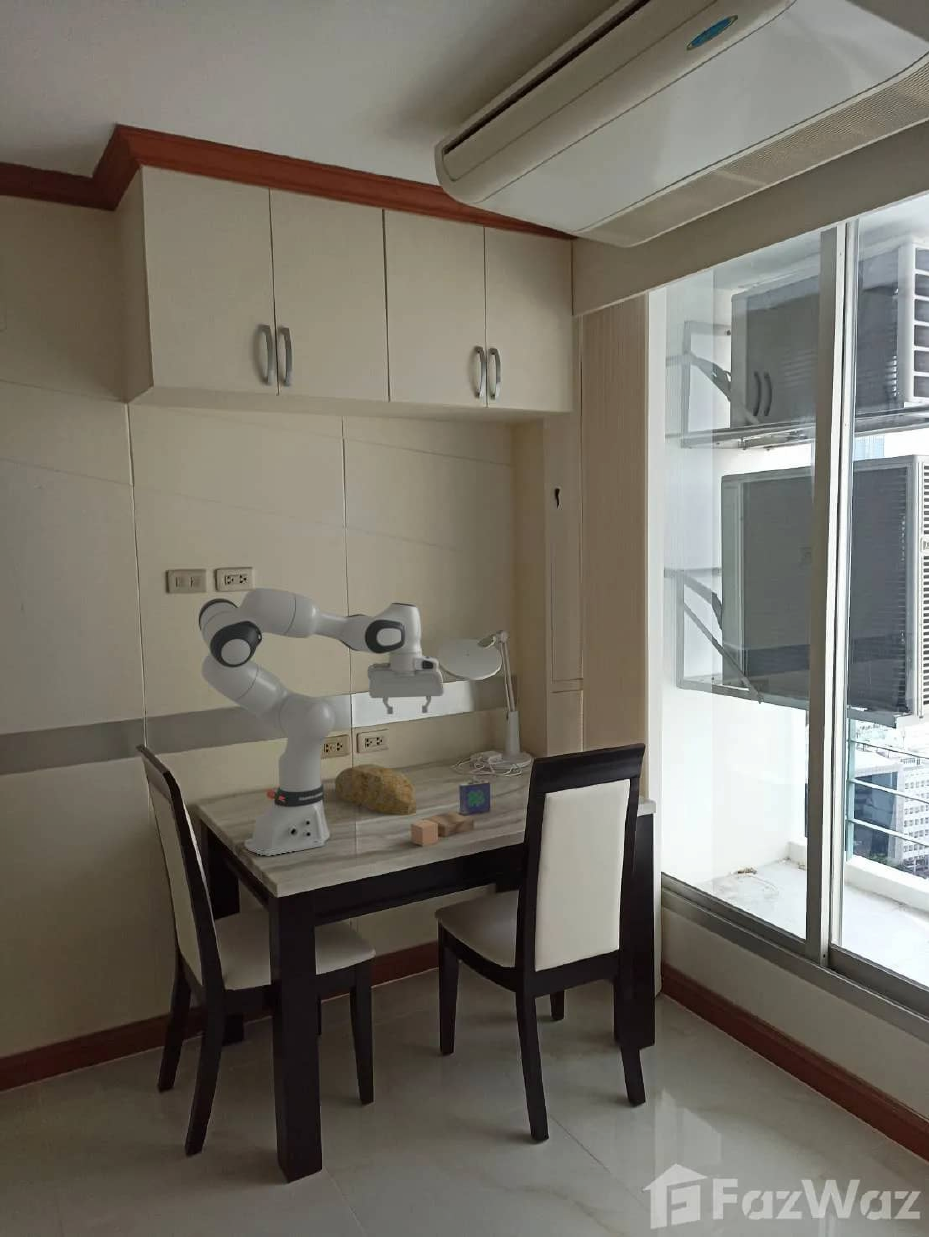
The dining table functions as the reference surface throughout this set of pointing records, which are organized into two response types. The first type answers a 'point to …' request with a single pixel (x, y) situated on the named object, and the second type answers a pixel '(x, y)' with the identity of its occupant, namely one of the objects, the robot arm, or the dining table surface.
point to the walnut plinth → (451, 823)
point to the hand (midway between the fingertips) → (407, 713)
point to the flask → (474, 797)
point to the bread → (377, 789)
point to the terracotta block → (424, 832)
